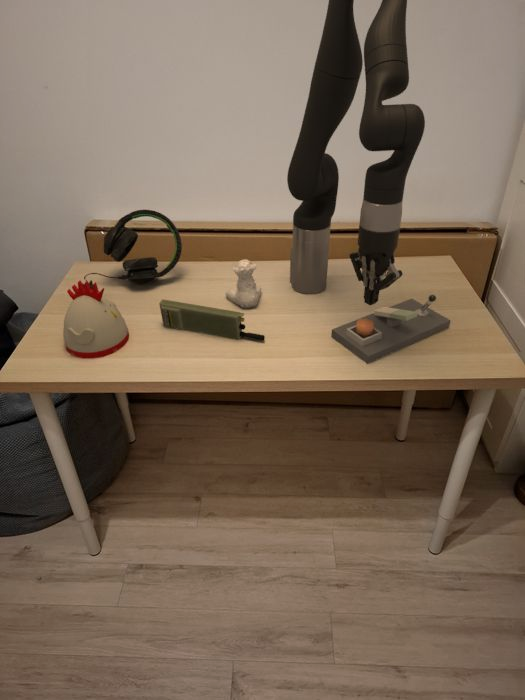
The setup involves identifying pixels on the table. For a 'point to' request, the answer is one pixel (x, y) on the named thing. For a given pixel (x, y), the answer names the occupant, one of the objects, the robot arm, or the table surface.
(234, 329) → the handheld radio
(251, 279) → the sitting furry creature
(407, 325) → the panel
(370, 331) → the button
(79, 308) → the kitchen timer
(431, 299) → the lever
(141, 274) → the headset
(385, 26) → the robot arm
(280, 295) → the table surface
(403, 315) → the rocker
